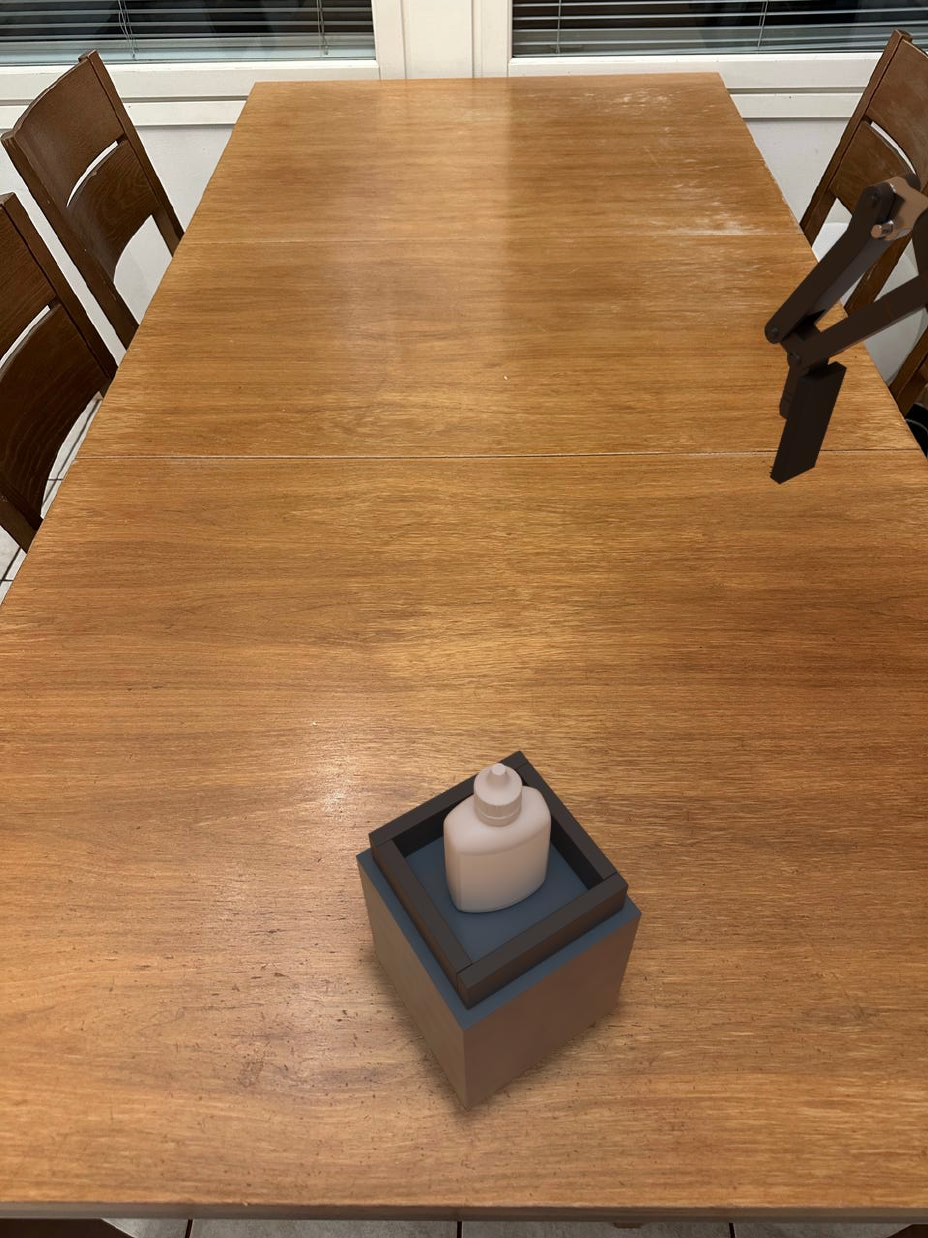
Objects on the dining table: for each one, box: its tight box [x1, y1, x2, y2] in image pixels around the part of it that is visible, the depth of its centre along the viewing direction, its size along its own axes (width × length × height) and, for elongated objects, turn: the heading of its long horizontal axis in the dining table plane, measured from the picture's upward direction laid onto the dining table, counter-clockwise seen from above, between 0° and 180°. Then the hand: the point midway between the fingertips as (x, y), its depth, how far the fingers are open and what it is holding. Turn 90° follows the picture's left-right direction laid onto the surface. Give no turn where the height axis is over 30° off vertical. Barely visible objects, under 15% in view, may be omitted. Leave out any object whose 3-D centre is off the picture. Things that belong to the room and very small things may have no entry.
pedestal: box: [355, 749, 643, 1112], centre depth 59 cm, size 12×12×18 cm
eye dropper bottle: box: [444, 762, 551, 913], centre depth 50 cm, size 4×6×12 cm
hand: (887, 542), depth 49 cm, fingers open, 13 cm apart
